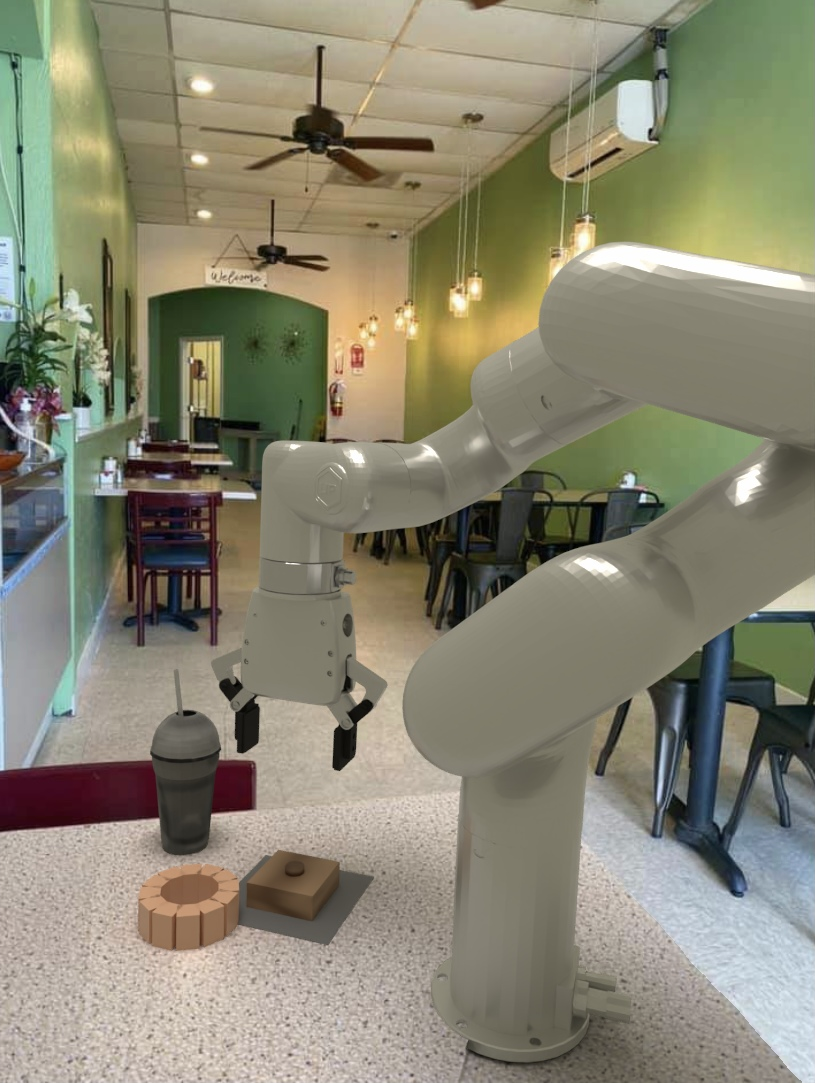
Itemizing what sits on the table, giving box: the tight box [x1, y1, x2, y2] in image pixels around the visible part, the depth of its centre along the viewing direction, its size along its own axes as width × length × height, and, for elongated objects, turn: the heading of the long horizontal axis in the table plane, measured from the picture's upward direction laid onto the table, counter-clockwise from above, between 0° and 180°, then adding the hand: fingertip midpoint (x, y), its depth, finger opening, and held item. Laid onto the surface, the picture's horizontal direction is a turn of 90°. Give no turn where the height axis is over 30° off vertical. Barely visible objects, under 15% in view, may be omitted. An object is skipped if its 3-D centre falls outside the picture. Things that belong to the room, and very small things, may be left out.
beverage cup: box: [149, 668, 222, 856], centre depth 86 cm, size 7×7×20 cm
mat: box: [237, 854, 375, 946], centre depth 78 cm, size 12×12×1 cm
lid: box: [246, 849, 341, 921], centre depth 78 cm, size 7×7×3 cm
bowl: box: [137, 863, 240, 952], centre depth 73 cm, size 9×9×4 cm
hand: (294, 756), depth 77 cm, fingers open, 9 cm apart
